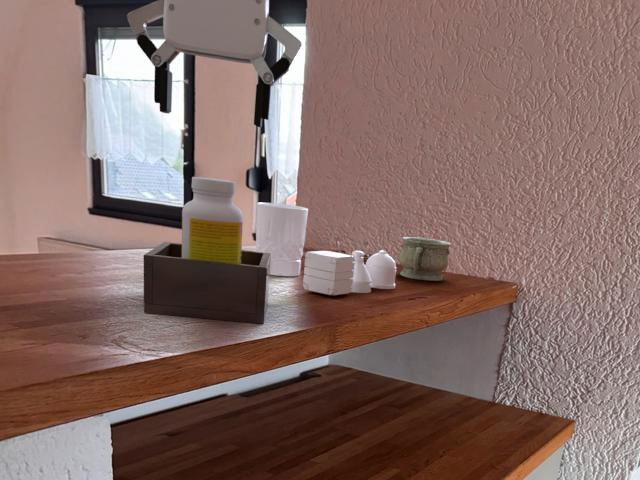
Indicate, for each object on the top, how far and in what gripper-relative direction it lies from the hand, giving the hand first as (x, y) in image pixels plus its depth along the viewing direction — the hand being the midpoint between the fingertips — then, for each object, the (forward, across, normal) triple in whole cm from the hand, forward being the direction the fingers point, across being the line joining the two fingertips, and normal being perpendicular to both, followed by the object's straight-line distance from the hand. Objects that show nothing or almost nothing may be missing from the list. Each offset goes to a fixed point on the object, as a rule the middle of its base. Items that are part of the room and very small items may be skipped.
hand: (212, 119), depth 77 cm
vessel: (+19, -33, -45) cm, 59 cm away
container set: (+19, -19, -24) cm, 36 cm away
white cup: (+20, -8, -32) cm, 39 cm away
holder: (+20, -1, 0) cm, 20 cm away
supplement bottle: (+19, -1, 0) cm, 19 cm away
